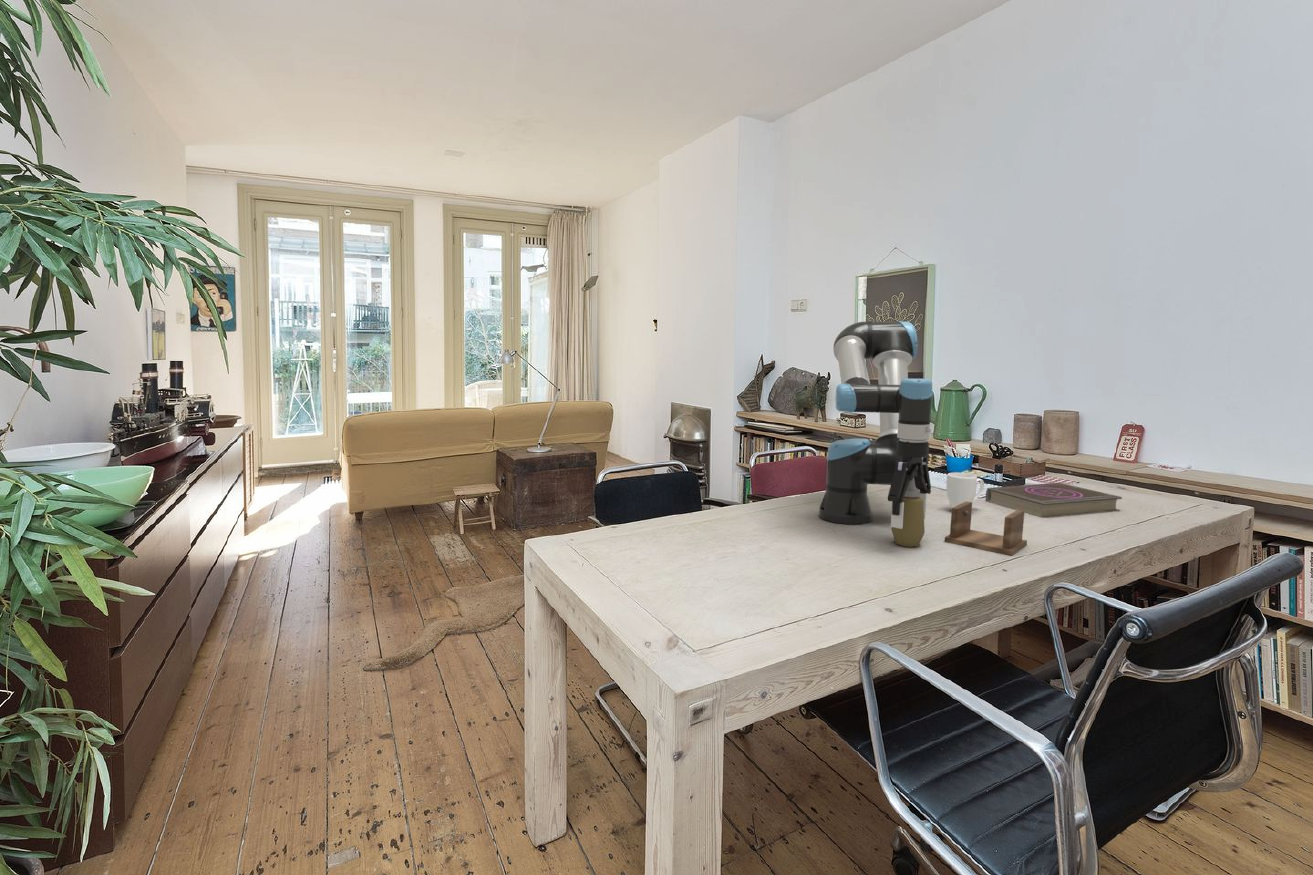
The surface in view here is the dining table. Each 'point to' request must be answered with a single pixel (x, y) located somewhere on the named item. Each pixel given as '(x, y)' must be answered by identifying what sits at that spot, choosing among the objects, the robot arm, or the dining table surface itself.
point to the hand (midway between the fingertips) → (908, 522)
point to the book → (1052, 499)
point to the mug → (962, 488)
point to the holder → (986, 541)
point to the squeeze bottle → (911, 519)
